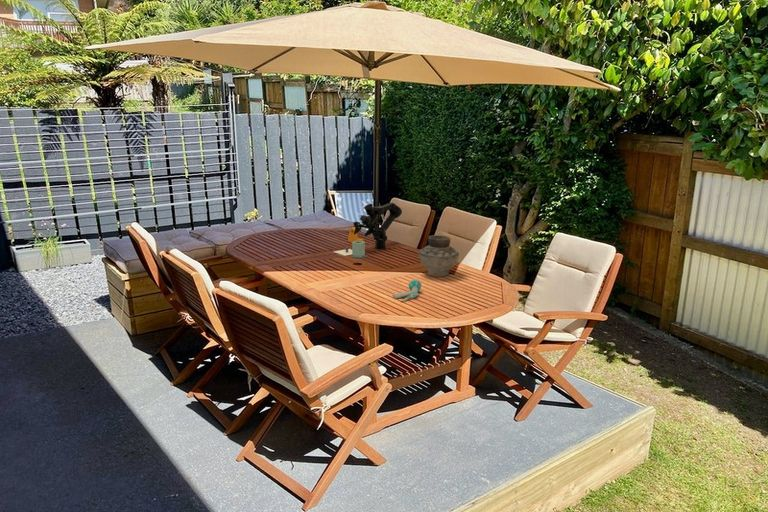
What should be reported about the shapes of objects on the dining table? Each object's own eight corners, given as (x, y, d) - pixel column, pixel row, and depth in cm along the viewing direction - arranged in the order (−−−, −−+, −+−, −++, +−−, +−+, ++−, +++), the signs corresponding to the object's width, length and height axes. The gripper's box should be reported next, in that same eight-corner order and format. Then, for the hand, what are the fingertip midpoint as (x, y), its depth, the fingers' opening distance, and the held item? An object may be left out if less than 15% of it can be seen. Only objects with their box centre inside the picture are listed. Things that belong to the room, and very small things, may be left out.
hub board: (349, 250, 428) (349, 244, 427) (360, 254, 417) (360, 247, 416) (333, 253, 419) (333, 246, 418) (344, 257, 409) (344, 250, 408)
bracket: (364, 243, 451) (364, 228, 448) (356, 244, 447) (356, 229, 444) (355, 240, 460) (355, 225, 457) (348, 241, 455) (348, 226, 452)
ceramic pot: (435, 266, 390) (437, 231, 384) (465, 274, 373) (467, 237, 367) (410, 273, 373) (410, 236, 367) (440, 282, 356) (441, 243, 350)
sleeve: (356, 254, 411) (356, 240, 409) (364, 255, 409) (364, 241, 406) (352, 256, 406) (352, 242, 403) (360, 257, 403) (360, 243, 401)
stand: (355, 255, 414) (355, 248, 413) (368, 257, 410) (368, 250, 409) (348, 259, 405) (348, 252, 404) (361, 260, 401) (361, 253, 400)
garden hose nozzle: (399, 296, 318) (432, 288, 325) (386, 284, 333) (418, 277, 340) (400, 308, 321) (432, 300, 328) (387, 295, 336) (418, 288, 343)
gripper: (356, 210, 421) (345, 224, 413) (377, 213, 411) (366, 228, 403) (361, 221, 428) (350, 236, 420) (382, 224, 418) (371, 240, 410)
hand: (359, 235), depth 413 cm, fingers open, 9 cm apart
